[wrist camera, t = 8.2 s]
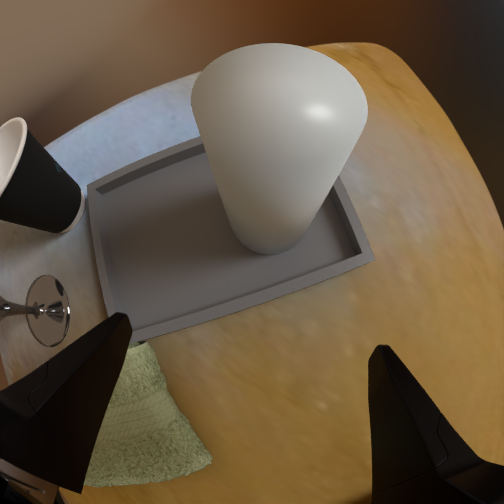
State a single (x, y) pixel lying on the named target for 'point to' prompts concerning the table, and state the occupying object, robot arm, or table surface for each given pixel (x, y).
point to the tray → (201, 245)
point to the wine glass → (43, 310)
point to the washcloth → (143, 429)
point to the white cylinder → (276, 137)
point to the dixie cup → (35, 183)
